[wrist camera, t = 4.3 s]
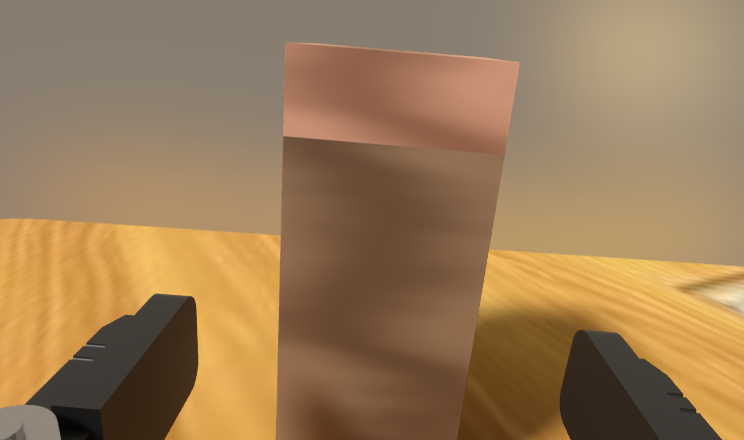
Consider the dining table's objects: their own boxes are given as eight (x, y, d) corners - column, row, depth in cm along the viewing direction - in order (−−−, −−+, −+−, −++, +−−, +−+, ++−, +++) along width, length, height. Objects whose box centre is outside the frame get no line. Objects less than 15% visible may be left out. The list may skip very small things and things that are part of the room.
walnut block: (433, 387, 20) (480, 57, 16) (448, 496, 15) (519, 62, 11) (302, 375, 20) (316, 43, 16) (274, 481, 15) (285, 42, 11)
